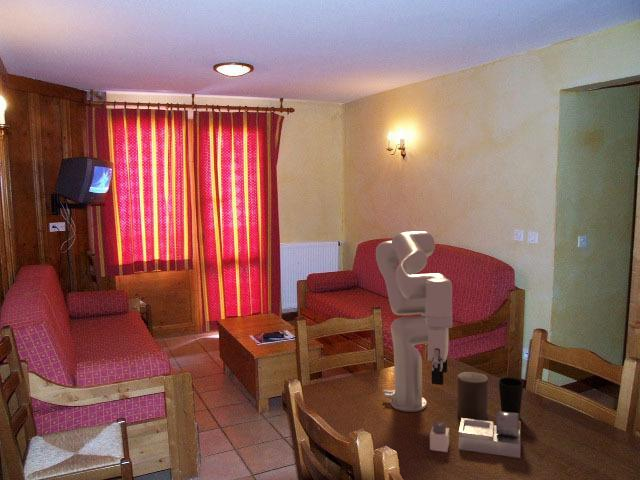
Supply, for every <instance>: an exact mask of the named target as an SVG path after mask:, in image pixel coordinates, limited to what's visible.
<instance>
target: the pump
mask: <svg viewBox="0 0 640 480" xmlns="http://www.w3.org/2000/svg"><path fill="white" fill-rule="evenodd" d="M449 446H450V428H449V427H447V425H446V423H445V422H443V421H435V422H433V425H432V426H431V428H430V432H429V450H431V451H436V452H442V453H443V452H444V453H448V450H449Z"/></svg>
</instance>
